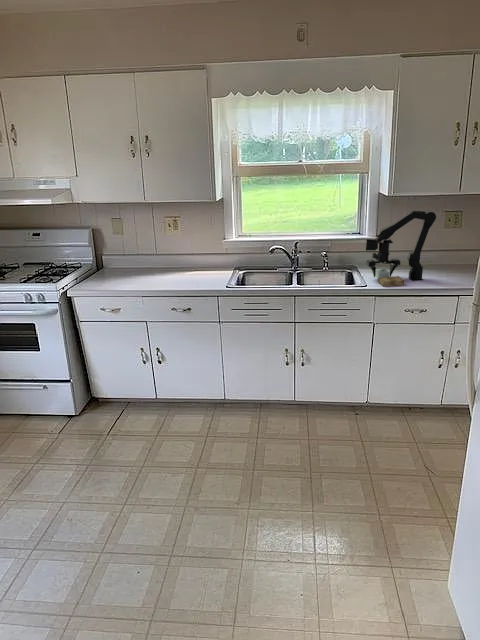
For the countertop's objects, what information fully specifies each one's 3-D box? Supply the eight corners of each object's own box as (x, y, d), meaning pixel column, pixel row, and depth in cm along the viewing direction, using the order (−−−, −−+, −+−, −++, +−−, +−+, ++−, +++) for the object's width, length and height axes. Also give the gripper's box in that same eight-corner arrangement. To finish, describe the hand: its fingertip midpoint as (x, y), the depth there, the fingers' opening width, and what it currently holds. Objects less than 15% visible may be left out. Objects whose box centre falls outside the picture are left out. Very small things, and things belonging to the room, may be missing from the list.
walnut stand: (398, 281, 274) (398, 276, 273) (404, 285, 266) (404, 280, 265) (377, 282, 274) (378, 277, 273) (383, 286, 265) (383, 281, 264)
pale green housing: (385, 276, 285) (385, 267, 283) (388, 280, 277) (389, 271, 275) (375, 277, 285) (376, 268, 283) (379, 280, 278) (379, 271, 276)
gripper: (394, 247, 283) (393, 272, 289) (363, 248, 283) (362, 274, 288) (401, 250, 273) (399, 277, 278) (369, 252, 272) (368, 279, 278)
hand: (382, 276), depth 281 cm, fingers open, 9 cm apart
